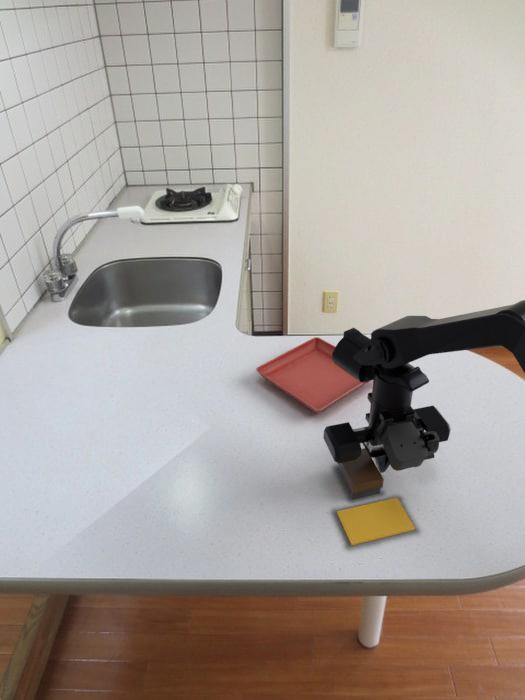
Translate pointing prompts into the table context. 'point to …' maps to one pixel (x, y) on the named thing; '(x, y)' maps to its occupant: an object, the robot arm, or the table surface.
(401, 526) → the cloth
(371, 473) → the brown rectangular block
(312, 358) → the plant saucer
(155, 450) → the table surface
